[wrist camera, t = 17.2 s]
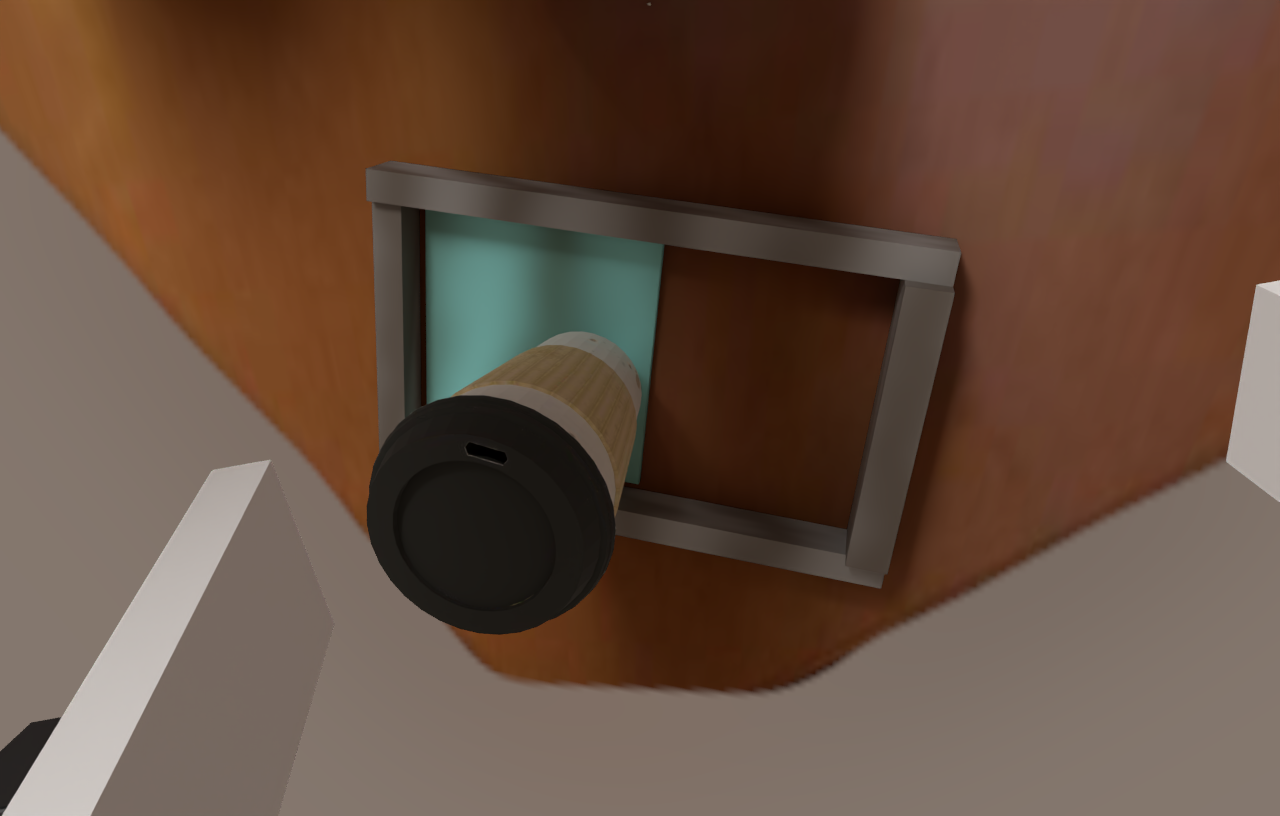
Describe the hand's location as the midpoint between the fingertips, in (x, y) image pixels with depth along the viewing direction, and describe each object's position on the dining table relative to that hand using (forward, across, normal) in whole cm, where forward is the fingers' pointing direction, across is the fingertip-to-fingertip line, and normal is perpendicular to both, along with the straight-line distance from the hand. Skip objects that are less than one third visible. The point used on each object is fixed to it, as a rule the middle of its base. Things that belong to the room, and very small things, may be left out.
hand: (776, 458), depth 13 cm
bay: (+32, 0, -13) cm, 34 cm away
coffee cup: (+32, -4, -14) cm, 35 cm away
